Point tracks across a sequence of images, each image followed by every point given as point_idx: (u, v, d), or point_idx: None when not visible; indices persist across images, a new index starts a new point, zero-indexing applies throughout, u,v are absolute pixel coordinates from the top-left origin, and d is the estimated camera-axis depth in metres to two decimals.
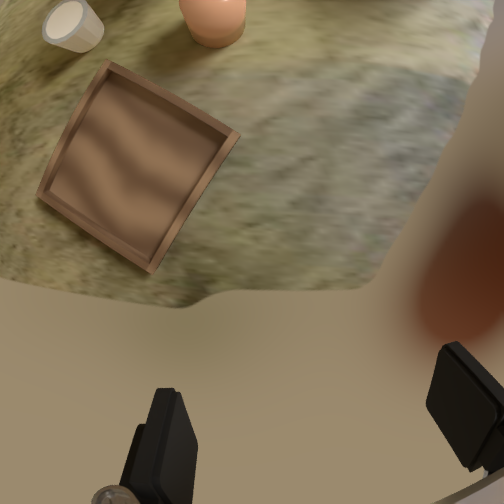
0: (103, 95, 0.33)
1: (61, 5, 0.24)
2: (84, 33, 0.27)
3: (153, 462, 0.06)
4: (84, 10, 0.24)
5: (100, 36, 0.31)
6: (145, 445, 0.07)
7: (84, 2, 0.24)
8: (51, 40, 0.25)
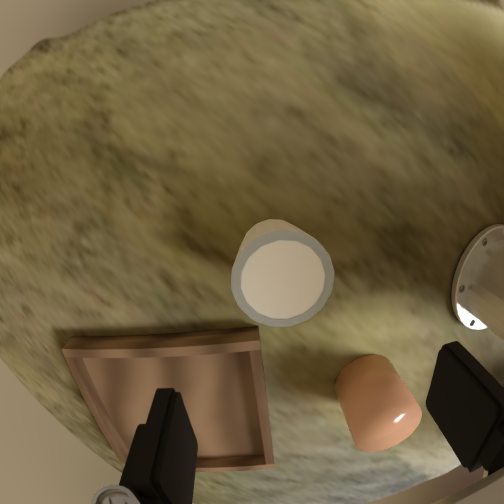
0: None
1: (306, 248, 0.20)
2: None
3: (153, 461, 0.06)
4: (314, 307, 0.21)
5: None
6: (145, 445, 0.07)
7: (328, 293, 0.21)
8: (237, 292, 0.21)
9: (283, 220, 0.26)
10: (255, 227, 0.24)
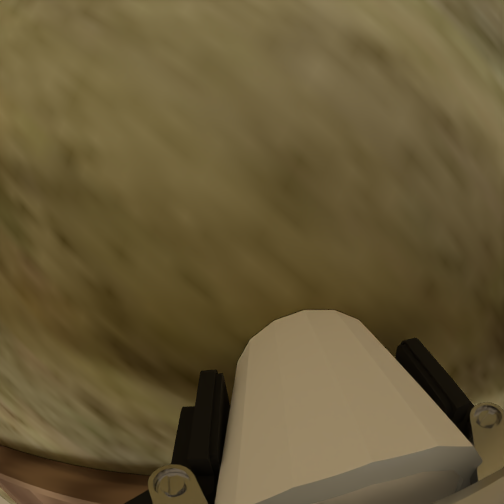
0: None
1: (440, 471, 0.04)
2: None
3: (209, 437, 0.07)
4: None
5: None
6: (198, 423, 0.08)
7: None
8: None
9: (340, 316, 0.10)
10: (274, 350, 0.09)
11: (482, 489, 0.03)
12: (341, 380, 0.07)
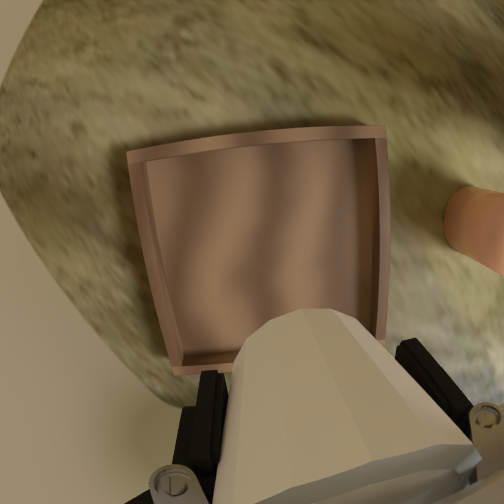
0: (330, 150, 0.24)
1: (439, 470, 0.04)
2: None
3: (210, 437, 0.07)
4: None
5: None
6: (199, 423, 0.08)
7: None
8: None
9: (336, 315, 0.10)
10: (271, 349, 0.09)
11: (482, 489, 0.03)
12: (339, 379, 0.06)
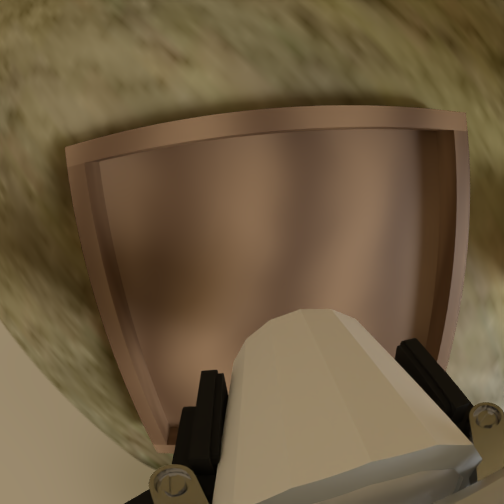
0: (388, 146, 0.15)
1: (439, 470, 0.04)
2: None
3: (210, 437, 0.07)
4: None
5: None
6: (199, 423, 0.08)
7: None
8: None
9: (336, 315, 0.10)
10: (270, 350, 0.09)
11: (482, 489, 0.03)
12: (338, 379, 0.06)
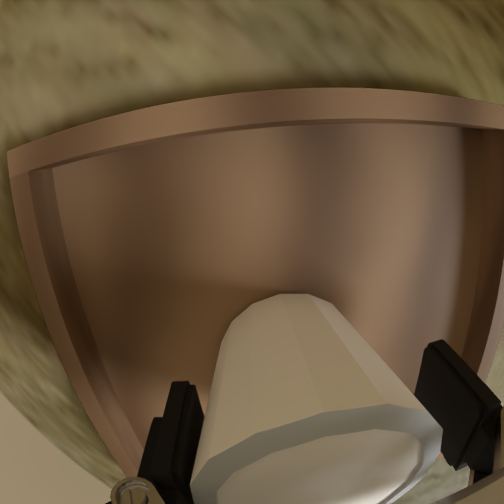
0: (427, 147, 0.11)
1: (396, 433, 0.06)
2: None
3: (172, 452, 0.07)
4: None
5: None
6: (163, 436, 0.07)
7: (413, 484, 0.07)
8: None
9: (312, 299, 0.11)
10: (250, 327, 0.10)
11: (482, 489, 0.03)
12: (304, 349, 0.08)
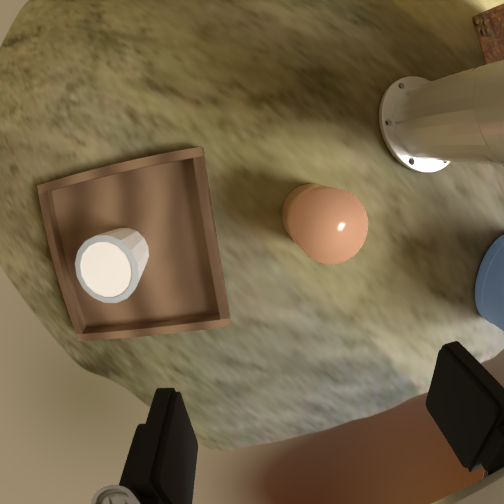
0: (166, 171, 0.33)
1: (115, 246, 0.27)
2: None
3: (153, 461, 0.06)
4: (129, 289, 0.29)
5: None
6: (145, 445, 0.07)
7: (136, 278, 0.28)
8: (80, 278, 0.28)
9: (127, 228, 0.33)
10: None
11: (482, 489, 0.03)
12: (106, 232, 0.30)
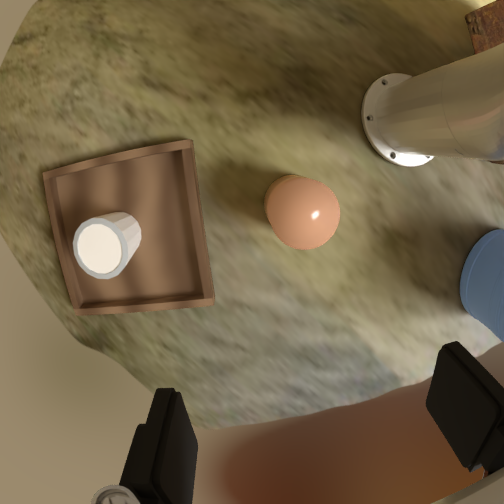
0: (158, 161, 0.35)
1: (107, 228, 0.30)
2: None
3: (153, 462, 0.06)
4: (119, 266, 0.32)
5: None
6: (145, 445, 0.07)
7: (125, 257, 0.31)
8: (77, 256, 0.31)
9: (122, 212, 0.36)
10: None
11: (482, 489, 0.03)
12: (102, 215, 0.33)
